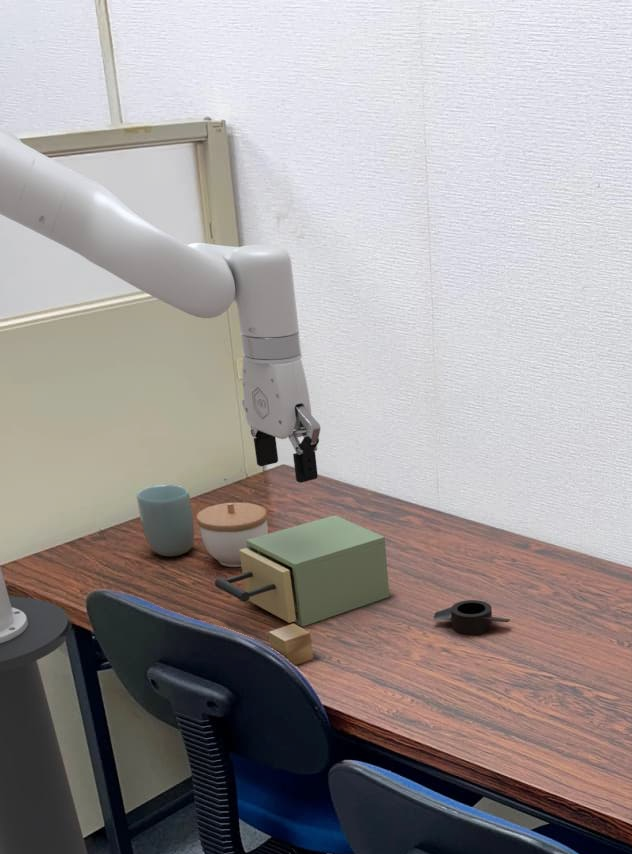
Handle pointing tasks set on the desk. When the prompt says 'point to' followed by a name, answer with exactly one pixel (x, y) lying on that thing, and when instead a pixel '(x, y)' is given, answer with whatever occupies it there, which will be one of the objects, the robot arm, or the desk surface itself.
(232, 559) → the trinket box
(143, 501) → the cup
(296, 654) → the block
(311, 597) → the box
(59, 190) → the robot arm
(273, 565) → the drawer
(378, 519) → the desk surface
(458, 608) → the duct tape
